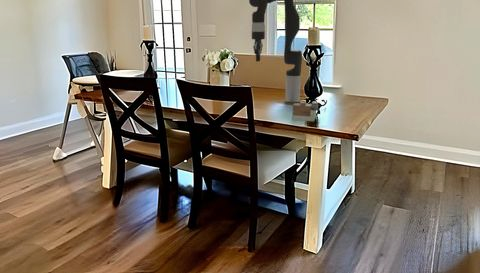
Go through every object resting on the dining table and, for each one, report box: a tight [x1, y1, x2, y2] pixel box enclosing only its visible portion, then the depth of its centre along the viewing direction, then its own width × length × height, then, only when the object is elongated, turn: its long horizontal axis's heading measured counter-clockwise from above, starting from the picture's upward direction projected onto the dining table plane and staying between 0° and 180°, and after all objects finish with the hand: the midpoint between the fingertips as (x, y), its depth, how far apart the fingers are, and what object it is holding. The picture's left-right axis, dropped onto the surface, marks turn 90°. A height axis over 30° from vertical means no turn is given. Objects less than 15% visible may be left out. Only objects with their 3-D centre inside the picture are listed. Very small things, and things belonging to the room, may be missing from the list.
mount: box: [292, 110, 317, 122], centre depth 229 cm, size 9×12×6 cm
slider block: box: [292, 101, 312, 120], centre depth 229 cm, size 5×10×9 cm, turn 73°
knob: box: [310, 101, 319, 112], centre depth 224 cm, size 4×4×4 cm
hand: (258, 61), depth 242 cm, fingers closed
